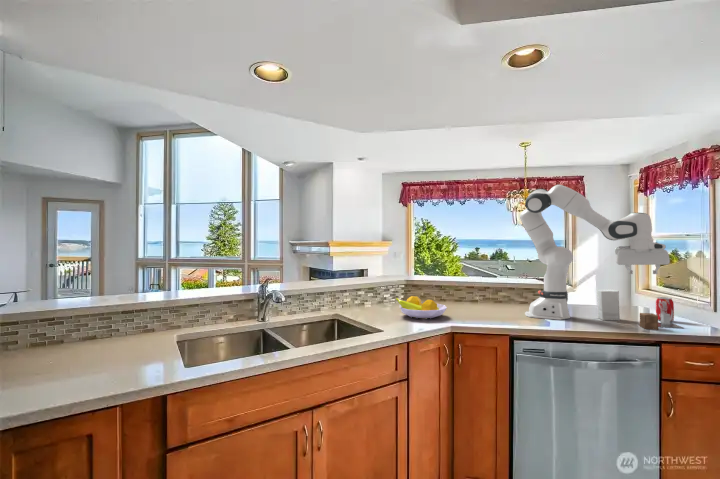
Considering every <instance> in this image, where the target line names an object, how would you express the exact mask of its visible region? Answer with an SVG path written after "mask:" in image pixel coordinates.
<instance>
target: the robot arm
mask: <svg viewBox="0 0 720 479" xmlns="http://www.w3.org/2000/svg"><path fill="white" fill-rule="evenodd" d="M524 205H525V209H523V210H522V211H521V212H520V214H519V218H520V222H521V224H522V226H523V228H524V230H525V232H526V234H527V235H528V236H529V238H530V240H531V241H532V243H533V244H534V247H535V250H536V253H537V258H538V261H540V262H541V263H542V264H544V265H546V270H545V274H544V275H543V290H538V291H537V294H538V295H539V297H538V298H536V299H535V300H534V301H531V303H530V304H529V308H528V310H527V311H525V312H524V315H525V316H526V317H528V318H534V319H535V318H536V319H547V320H558V321H560V320H561V321H562V320H567V319H570V318H571V315H570V312H569V306H568V300H569V294H568V291H567V277H568V271H569V268H570V265H571V263H572V261H573V260H574V255H573V253H572V251H571V250H570V249H568V248H566V247H565V246H558V245H557V244H556V242H555V239H554V233H553V230H552V229H551V228H550V226H549V225H548V223H547V221H546V220H545V219H544V217H543V215H542V212H543V211H545V210H546V209H548V208H549V207H551V206H552V205H553V206H555V207H557V208H560V209H561V210H563V211H564V212H566V213H567V214H570V215H572V216H574V217H577V218H579V219H582V220H584V221H586V222H588V223H589V224H590V225H592V226H593V227H595V228H597V229H598V230H599V231H600V233H601V234H602V235H603V237H605V238H606V239H607V240H608V241H620V240H624V239H629V245H624V246H622V245H621V246H618V247H616V248H615V251H614V252H615V255H616V261H615V262H616V264H617V265H619V266H621V265H622V266H624V267H625V268H626V270H627V271H628V272H627V273H628V275H633V273H634V271H633V270H632V269H630V266H631V265H634V266H638V265H639V266H640V265H641V266H642V265H643V266H644V265H645V266H647V265H648V266H650V265H652V266H653V265H655V267H656V268H655V269H653V270H652V275H658V272H659V269H660V268H661V266H662V265H663V266H664V265H665V266H666V265H669V264H670V262H671V259H670V255H669V252H668V250H666V245H665V244H663V243H659V242H654V241H653V240H654V239H653V236H652V232H653V224H652V218H651V216H650V215H649V214H648V213H644V212H630V213H629V214H628V215H627V216H624V217H621V218H620V219H617V220H610V219H609V218H606V217H605V216H603V215H602V214H600V213H599V212H597V211H595V210H594V209H593V208H592V206H591V204H590V201H589V199H588V198H587V197H585V196H584V195H583V194H581V193H580V192H579V191H576V190H575V189H572V188H571V187H568V186H565V185H562V184H555V185H554V186H552V187H551V188H550V189H549V190H548V189H545V188H537V189H535V190H533V191H532V192H530V193H529V194H528V196H527V197H526V199H525V204H524Z"/></svg>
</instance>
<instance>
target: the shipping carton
mask: <svg viewBox="0 0 720 479" xmlns="http://www.w3.org/2000/svg"><path fill="white" fill-rule="evenodd" d="M658 322H659V320H658V315H656V313H652V312H639V327H640V328H643V329H644V330H654V331H655V330H656V331H657V330H659V327H658Z"/></svg>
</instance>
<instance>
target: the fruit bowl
mask: <svg viewBox="0 0 720 479" xmlns="http://www.w3.org/2000/svg"><path fill="white" fill-rule="evenodd" d="M395 300H396V301H397V302H398V304H399V309H400V311H401V313H402V314H403V315H406V316H408V317H409V318H412V317H416V318H415V319H418V318H430V319H433V318H436V317H440V316H442V315H443V314H444V313H445V312H446V311H447V309H448V308H447V306H446V305H445V304H440V303H437V302H436V301H434V300H432V299H429V298H428V299H426V300H425V301H423V302H422V299H421V298H420V297H419V296H417V295H415V296H414V295H411V296H410V297H408V298H407V299H406V301H405V300H401V299H399V298H398V297H396V298H395Z"/></svg>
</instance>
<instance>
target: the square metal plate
mask: <svg viewBox="0 0 720 479" xmlns="http://www.w3.org/2000/svg"><path fill="white" fill-rule="evenodd" d="M663 327H665V328H666V329H668V328H669V329H681V330H682V329H685V327H683V326H680V325H678V324H676V323H673V322H670V314H668V313H661V321H658V328H663Z"/></svg>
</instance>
